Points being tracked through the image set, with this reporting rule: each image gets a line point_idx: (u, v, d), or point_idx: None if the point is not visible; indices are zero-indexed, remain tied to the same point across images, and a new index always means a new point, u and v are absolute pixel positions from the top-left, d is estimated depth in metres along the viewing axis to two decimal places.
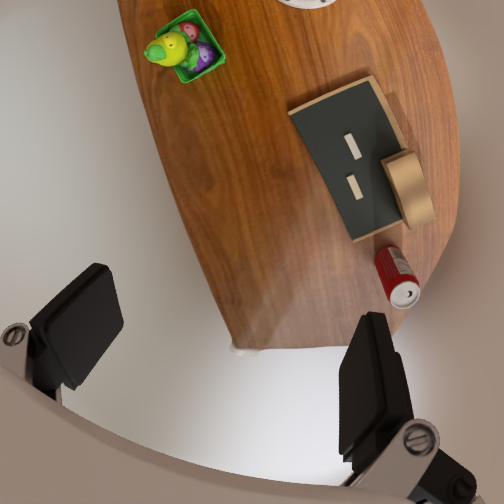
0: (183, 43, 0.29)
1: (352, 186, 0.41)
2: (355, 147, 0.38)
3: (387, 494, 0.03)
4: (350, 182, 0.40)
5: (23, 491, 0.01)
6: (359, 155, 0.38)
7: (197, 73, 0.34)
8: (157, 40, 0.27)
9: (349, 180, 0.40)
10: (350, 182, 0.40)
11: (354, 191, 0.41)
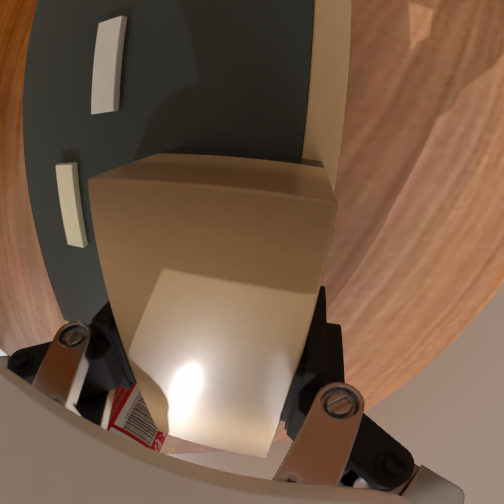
0: None
1: (62, 200, 0.10)
2: (108, 69, 0.07)
3: (387, 494, 0.03)
4: (60, 185, 0.10)
5: (23, 491, 0.01)
6: (107, 103, 0.08)
7: None
8: None
9: (59, 177, 0.10)
10: (60, 184, 0.10)
11: (64, 217, 0.11)
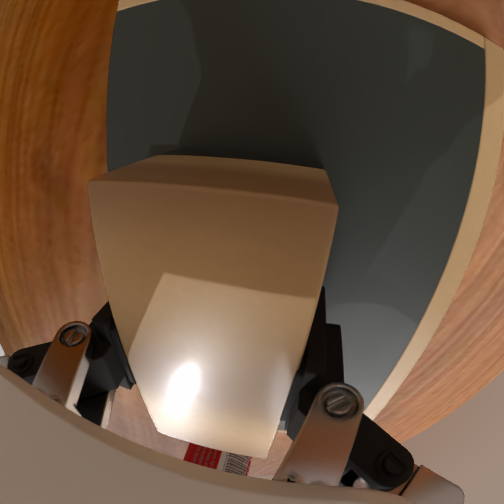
0: None
1: None
2: None
3: (387, 494, 0.03)
4: None
5: (23, 491, 0.01)
6: None
7: None
8: None
9: None
10: None
11: None
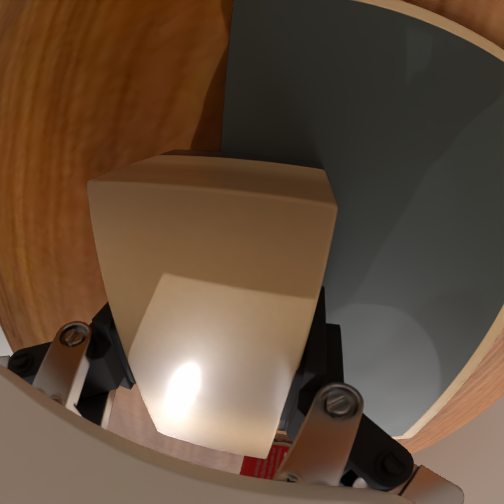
0: None
1: None
2: None
3: (387, 494, 0.03)
4: None
5: (23, 491, 0.01)
6: None
7: None
8: None
9: None
10: None
11: None
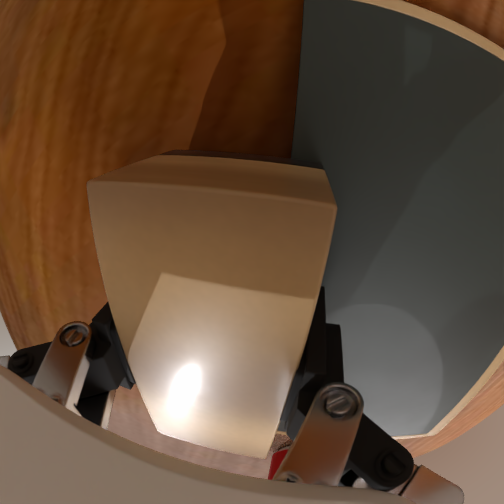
0: None
1: None
2: None
3: (387, 494, 0.03)
4: None
5: (23, 491, 0.01)
6: None
7: None
8: None
9: None
10: None
11: None
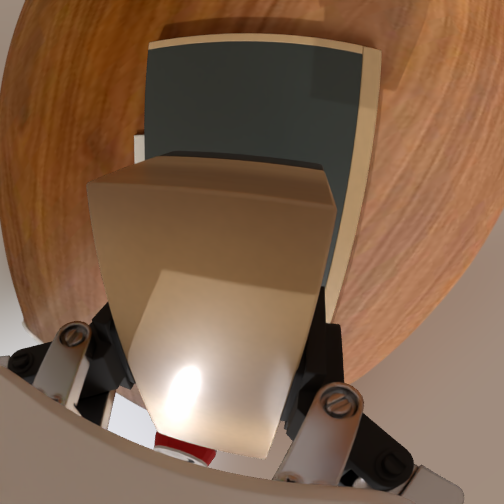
0: None
1: None
2: None
3: (387, 494, 0.03)
4: None
5: (23, 491, 0.01)
6: None
7: None
8: None
9: None
10: None
11: None
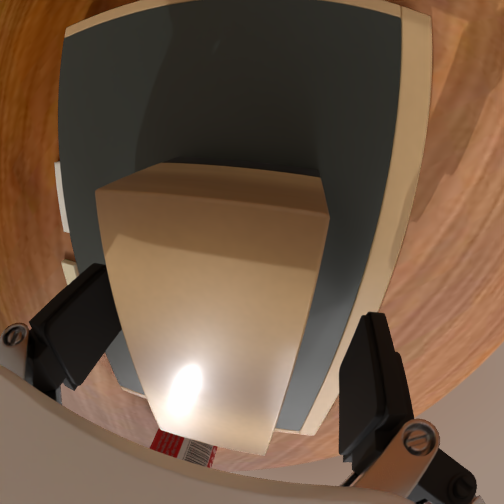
0: None
1: None
2: None
3: (387, 494, 0.03)
4: None
5: (23, 491, 0.01)
6: None
7: None
8: None
9: (76, 270, 0.14)
10: (78, 274, 0.15)
11: None
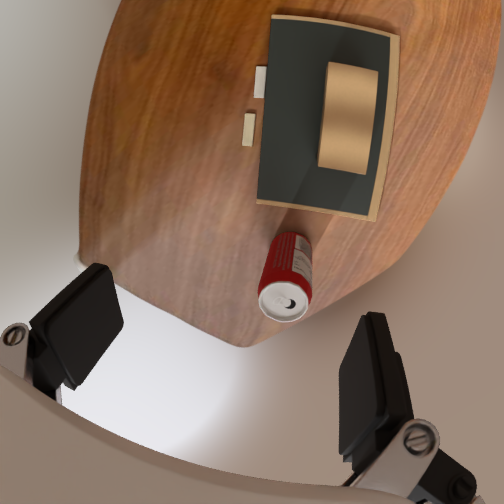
0: None
1: None
2: (262, 84, 0.28)
3: (387, 494, 0.03)
4: None
5: (23, 491, 0.01)
6: (261, 95, 0.28)
7: None
8: None
9: None
10: (253, 121, 0.30)
11: None
